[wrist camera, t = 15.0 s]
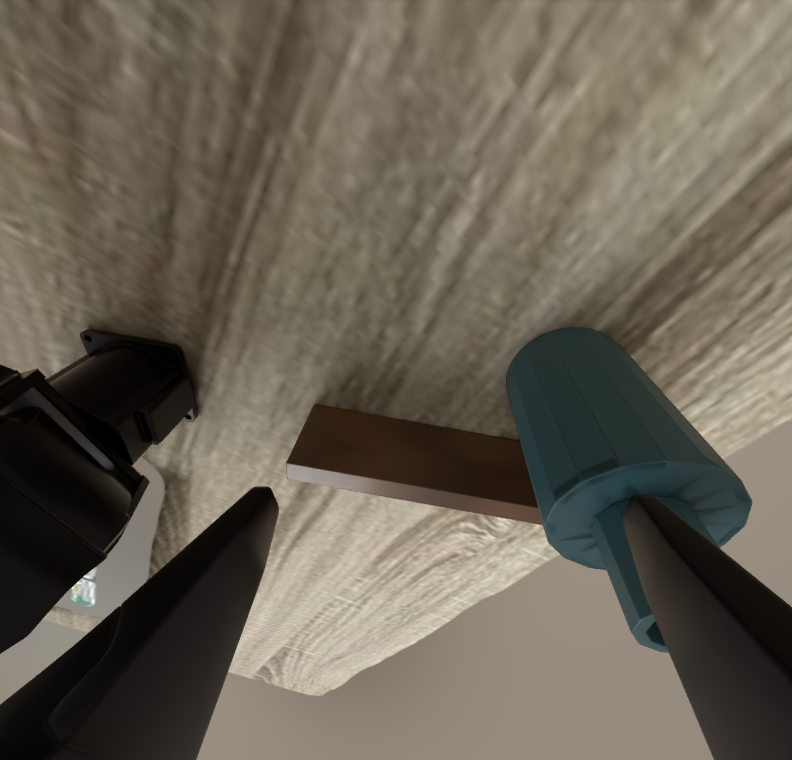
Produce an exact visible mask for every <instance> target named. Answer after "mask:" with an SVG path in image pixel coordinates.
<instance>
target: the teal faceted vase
mask: <svg viewBox="0 0 792 760" xmlns="http://www.w3.org/2000/svg"><path fill="white" fill-rule="evenodd" d="M506 389H507V393H508V397H509V402H510V406H511V409H512V413H513V417H514V420H515V424H516V428H517V431H518V435H519V439H520V442H521V446H522V450H523V453H524V457H525V461H526V464H527V468H528V471H529V475H530V479H531V482H532V486H533V490H534V493H535V497H536V501H537V504H538V508H539V512H540V515H541V519H542V523H543V526H544V530H545V534H546V537H547V541H548V543H549V544H550V545H551V546H552V547H553V548H554V549H555V550H556V551H558V552H559V553H560V554H561V555H562V556H563V557H564V558H566V559H569V560H571V561H574V562H576V563H578V564H581V565H583V566H586V567H589V568H595V569H602V570H607V572H608V575H609V577H610V580H611V582H612V585H613V587H614V590H615V593H616V595H617V597H618V600H619V603H620V605H621V608H622V610H623V613H624V615H625V618H626V620H627V623H628V626H629V628H630V631H631V633H632V634H633V635H634V637H635V639H636V640H637V642H638V643H639V644H640V645H643V646H646V647H648V648H651V649H654V650H657V651H659V652H666V653H669V651H668V649H667V646H666V644H665V642H664V639H663V637H662V635H661V632H660V630H659V627H658V625H657V623H656V620H655V618H654V615H653V613H652V611H651V608H650V606H649V604H648V601H647V598H646V596H645V593H644V590H643V587H642V584H641V581H640V578H639V575H638V572H637V568H636V565H635V562H634V558H633V555H632V552H631V548H630V545H629V542H628V538H627V535H626V532H625V529H624V525H623V515H624V512H625V510H626V508H627V505H628V503H629V501H630V498H631V497H632V496H633V495H636V494H639V495H653V496H655V497H656V498H658V499H659V500H660V501H662V502H663V503H664V504H665V505H666V506H668V507H669V508H670V509H671V510H673V511H674V512H675V513H676V514H678V515H679V516H680V517H681V518H683V519H684V520H685V521H686V522H687V523H689V524H690V525H691V526H692V527H694V528H695V529H696V530H697V531H699V532H700V533H701V534H702V535H703V536H705V537H706V538H707V539H708V540H710V541H711V542H712V543H713V544H715V545H716V546H717V547H718V548H719V549H720V547H721V546H722V545H724V544H726V542H728V541H729V540H730V539H731V538H732V537H733V536H734V535H735V534H736V533H738V532H739V531H740V530H741V529H742V528H743V527H744V526H745V524H746V522H747V519H748V515H749V512H750V509H751V506H752V499H751V498H750V496H749V494H748V492H747V490H746V488H745V486H744V484H743V483H742V481H741V479H740V478H739V477H738V476H737V475H736V474H735V473H734V472H733V471H732V469H731V468H730V467H729V466H728V465H727V464H726V463H725V462H724V460H723V459H722V458H721V457H720V456H719V455H718V454H717V453H716V452H715V450H714V449H713V448H712V447H711V446H710V445H709V444H708V443H707V441H706V440H705V439H704V438H703V437H702V436H701V435H700V434H699V433H698V431H697V430H696V429H695V428H694V427H693V426H692V425H691V424H690V423H689V421H688V420H687V419H686V418H685V417H684V416H683V415H682V414H681V412H680V411H679V410H678V409H677V408H676V407H675V406H674V405H673V404H672V402H671V401H670V400H669V399H668V398H667V397H666V396H665V395H664V394H663V392H662V391H661V390H660V389H659V388H658V387H657V386H656V385H655V383H654V382H653V381H652V380H651V379H650V378H649V377H648V376H647V375H646V373H645V372H644V371H643V370H642V369H641V368H640V367H639V366H638V365H637V363H636V362H635V361H634V360H633V359H632V358H631V357H630V356H629V354H628V353H627V352H626V351H625V350H624V349H623V348H622V347H621V346H620V345H619V344H618V343H616V342H615V341H614V340H613V339H612V338H611V337H609V336H608V335H606V334H604V333H602V332H599V331H596V330H593V329H587V328H565V329H560V330H556V331H552V332H549V333H547V334H545V335H542V336H540V337H538V338H537V339H535V340H533V341H532V342H530V343H529V344H528V345H526V346H525V347H524V348H523V349H522V350H521V351H520V352H519V353H518V354H517V356H516V357H515V358H514V360H513V361H512V363H511V365H510V367H509V370H508V372H507V377H506Z"/></svg>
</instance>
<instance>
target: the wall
mask: <svg viewBox="0 0 792 760" xmlns="http://www.w3.org/2000/svg"><path fill="white" fill-rule="evenodd" d="M286 466H287V479H289V480H295V481H300V482H306V483H312V484H317V485H323V486H328V487H334V488H339V489H345V490H350V491H356V492H362V493H367V494H373V495H378V496H384V497H389V498H395V499H401V500H406V501H412V502H417V503H423V504H428V505H434V506H439V507H445V508H451V509H456V510H462V511H467V512H473V513H478V514H484V515H490V516H495V517H501V518H506V519H512V520H517V521H523V522H529V523H534V524H540V525H543V523H542V519H541V515H540V512H539V508H538V504H537V501H536V497H535V493H534V490H533V486H532V482H531V479H530V475H529V471H528V468H527V464H526V461H525V457H524V453H523V450H522V446H521V442H520V441H515V440H509V439H504V438H498V437H493V436H487V435H482V434H476V433H470V432H465V431H459V430H454V429H448V428H443V427H437V426H432V425H426V424H420V423H415V422H409V421H404V420H398V419H393V418H387V417H382V416H376V415H370V414H365V413H359V412H354V411H348V410H343V409H337V408H332V407H326V406H320V405H313V408H312V410H311V412H310V414H309V416H308V418H307V420H306V422H305V424H304V427H303V429H302V431H301V433H300V435H299V437H298V439H297V441H296V443H295V445H294V448H293V450H292V452H291V454H290V456H289V458H288V460H287V462H286Z"/></svg>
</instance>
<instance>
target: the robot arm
mask: <svg viewBox="0 0 792 760" xmlns="http://www.w3.org/2000/svg"><path fill="white" fill-rule="evenodd" d="M80 337H81V339H82V342H83V344H84V347H85V349H86V351H87V355H85V356H84V357H82V358H80V359H79V360H77V361H75V362H74V363H72V364H70V365H69V366H67V367H66V368H64V369H62V370H61V371H59V372H57V373H56V374H54V375H52V376H51V377H49V378H47V379H46V380H45V378H46V377H45V376H44V375H43V374H42V373H41V372H40V371H39V370H38V369H34V370H30V371H27V372H23V373H19V372H18V371H17V370H12V369H10V368H7V367H5V366H2V365H0V654H1V653H2V652H4V651H5V650H7V649H8V648H10V647H11V646H13V645H15V644H16V643H18V642H19V641H21V640H22V639H24V638H25V637H27V636H28V635H29V634H30V633H31V632H32V630H33V629H34V628H35V627H36V626H37V625H38V624H39V622H40V621H41V620H42V619H43V618H44V617H45V616H46V614H47V613H48V612H49V611H50V610H51V609H52V607H53V606H54V605H55V604H56V603H57V602H58V601H59V600H60V599H61V598H62V596H63V595H64V594H65V593H66V592H67V591H68V590H69V589H70V588H72V587H73V586H74V585H75V584H76V583H77V582H78V581H79V580H80V579H81V578H82V577H83V576H84V575H86V574H87V573H88V572H90V571H91V570H92V569H93V568H95V567H96V566H97V565H99V564H100V563H101V562H102V561H104V560H105V559H106V557H107V554H108V553H109V552H110V551H111V550H112V549H113V548H114V546H115V545H116V544H117V543H118V541H119V539H120V538H121V536H122V534H123V532H124V530H125V528H126V527H127V524H128V523H129V521H130V519H131V517H132V515H133V513H134V511H135V509H136V507H137V505H138V503H139V502H140V500H141V497H142V496H143V494H144V492H145V490H146V488H147V486H148V484H149V482H150V481H149V480H148V479H147V478H146V477H145V476H144V475H140V473H139V472H138V471H137V470H136V469H134V467H133V466H132V465H133V464H134V463H135V462H136V461H137V460H138V458H140V457H141V456H142V455H143V454H144V452H145V451H146V450H147V449H148V448H149V447H150V446H151V445H152V444H154V445H158V444H159V443H160V442H162V441H163V439H164V438H165V437H166V436H167V435H168V434H169V433H170V432H171V431H172V430H173V429H174V428H175V426H176V425H177V424H178V423H179V422H180V421H181V420H182V421H187V422H193V421H194V420H195V419H196V418H197V417H198V414H197V409H196V405H195V400H194V396H193V392H192V388H191V384H190V379H189V376H188V372H187V367H186V363H185V359H184V355H183V351H182V349H181V348H180V347H179V346H177V345H175V344H171V343H165V342H160V341H154V340H149V339H143V338H138V337H132V336H127V335H121V334H115V333H110V332H104V331H99V330H93V329H87V330H85V331H83V332H81V333H80ZM172 351H173V352H174V353H173V352H172ZM278 514H279V506H278V503H277V501H276V499H275V497H274V494H273V492H272V490H271V488H269V487H262V486H257V487H254V488H252V489H251V490H249V491H248V492H247V493H246V494H245V495H244V496H243V497H242V498H240V499H239V500H238V501H237V502H236V503H235V504H234V505H233V506H231V507H230V508H229V509H228V510H227V511H226V512H225V513H224V514H222V515H221V516H220V517H219V518H218V519H217V520H216V521H215V522H213V523H212V524H211V525H210V526H209V527H208V528H207V529H206V530H204V531H203V532H202V533H201V534H200V535H199V536H198V537H197V538H195V539H194V540H193V541H192V542H191V543H190V544H189V545H188V546H186V547H185V548H184V549H183V550H182V551H181V552H180V553H179V554H177V555H176V556H175V557H174V558H173V559H172V560H171V561H170V562H168V563H167V564H166V565H165V566H164V567H163V568H162V569H161V570H159V571H158V572H157V573H156V574H155V575H154V576H153V577H152V578H150V579H149V580H148V581H147V582H146V583H145V584H144V585H143V586H141V587H140V588H139V589H138V590H137V591H136V592H135V593H133V594H132V595H131V596H130V597H129V598H128V599H127V600H126V601H124V602H123V604H122V605H121V607H118V608H117V609H115V610H114V611H113V612H112V613H111V614H110V615H109V616H107V617H106V618H105V619H104V620H103V621H102V622H101V623H100V624H98V625H97V626H96V627H95V628H94V629H93V630H91V631H90V632H89V633H88V634H87V635H86V636H84V637H83V638H82V639H81V640H80V641H79V642H78V643H76V644H75V645H74V646H73V647H72V648H70V649H69V650H68V651H67V652H65V653H64V654H63V655H62V656H61V657H59V658H58V659H57V660H56V661H54V662H53V663H52V664H51V665H50V666H48V667H47V668H46V669H45V670H43V671H42V672H41V673H40V674H38V675H37V676H36V677H35V678H33V679H32V680H31V681H29V682H28V683H27V684H26V685H24V686H23V687H22V688H21V689H19V690H18V691H17V692H16V693H14V694H13V695H12V696H11V697H10V698H8V699H7V700H6V701H4V702H3V703H2V704H1V705H0V760H196V759H197V756H198V753H199V751H200V748H201V745H202V742H203V740H204V737H205V734H206V731H207V728H208V726H209V723H210V720H211V717H212V715H213V711H214V709H215V706H216V703H217V701H218V698H219V695H220V692H221V690H222V687H223V684H224V681H225V678H226V676H227V673H228V670H229V667H230V665H231V662H232V659H233V656H234V653H235V651H236V648H237V645H238V642H239V640H240V637H241V634H242V631H243V628H244V626H245V623H246V620H247V617H248V614H249V612H250V609H251V606H252V603H253V601H254V598H255V595H256V592H257V589H258V587H259V584H260V581H261V578H262V575H263V572H264V569H265V565H266V562H267V558H268V554H269V550H270V546H271V542H272V538H273V534H274V530H275V526H276V522H277V518H278ZM623 525H624V529H625V532H626V535H627V538H628V542H629V545H630V548H631V552H632V555H633V558H634V562H635V565H636V568H637V572H638V575H639V578H640V581H641V584H642V587H643V590H644V593H645V596H646V598H647V601H648V604H649V606H650V608H651V611H652V613H653V615H654V618H655V620H656V623H657V625H658V627H659V630H660V632H661V635H662V637H663V639H664V642H665V644H666V646H667V649H668V651H669V654H670V656H671V658H672V661H673V663H674V665H675V668H676V670H677V672H678V675H679V677H680V680H681V682H682V685H683V687H684V689H685V692H686V694H687V697H688V699H689V701H690V704H691V706H692V708H693V711H694V713H695V716H696V718H697V720H698V723H699V725H700V727H701V730H702V732H703V735H704V737H705V739H706V742H707V744H708V746H709V749H710V751H711V754H712V756H713V758H714V760H792V607H791V606H790V605H788V604H787V603H786V602H785V601H784V600H782V599H781V598H780V597H778V596H777V595H776V594H775V593H774V592H772V591H771V590H770V589H769V588H768V587H766V586H765V585H764V584H762V583H761V582H760V581H759V580H758V579H756V578H755V577H754V576H753V575H752V574H750V573H749V572H748V571H747V570H745V569H744V568H743V567H742V566H740V565H739V564H738V563H737V562H735V561H734V560H733V559H732V558H731V557H729V556H728V555H727V554H726V553H724V552H723V551H722V550H721V549H719V548H718V547H717V546H716V545H715V544H713V543H712V542H711V541H710V540H708V539H707V538H706V537H705V536H703V535H702V534H701V533H700V532H699V531H697V530H696V529H695V528H694V527H692V526H691V525H690V524H689V523H687V522H686V521H685V520H684V519H683V518H681V517H680V516H679V515H678V514H676V513H675V512H674V511H673V510H671V509H670V508H669V507H668V506H666V505H665V504H664V503H663V502H662V501H660V500H659V499H658V498H656V497H655V496H653V495H639V494H636V495H633V496H632V497H631V498H630V501H629V503H628V505H627V508H626V510H625V512H624V515H623Z"/></svg>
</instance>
